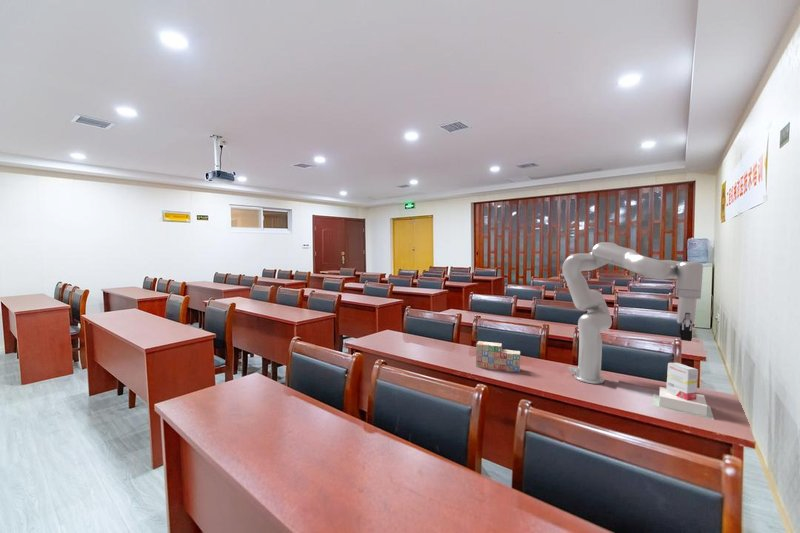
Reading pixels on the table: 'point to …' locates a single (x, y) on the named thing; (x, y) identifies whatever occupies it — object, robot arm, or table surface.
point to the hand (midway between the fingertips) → (685, 337)
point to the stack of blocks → (497, 357)
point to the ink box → (682, 381)
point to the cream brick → (683, 403)
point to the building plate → (656, 404)
